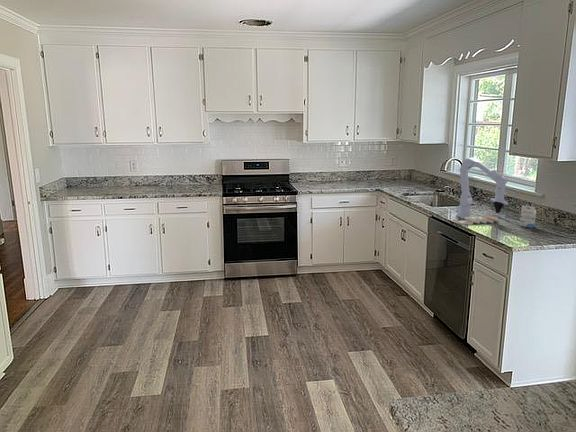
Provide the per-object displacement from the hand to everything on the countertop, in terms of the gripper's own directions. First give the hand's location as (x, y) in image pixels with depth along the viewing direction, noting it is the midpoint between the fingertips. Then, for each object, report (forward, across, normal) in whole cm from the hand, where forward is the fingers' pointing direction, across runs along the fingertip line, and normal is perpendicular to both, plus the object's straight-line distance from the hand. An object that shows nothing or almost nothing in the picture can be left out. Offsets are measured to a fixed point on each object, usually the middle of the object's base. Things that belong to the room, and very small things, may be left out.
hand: (497, 212), depth 299 cm
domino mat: (+7, -3, -6) cm, 10 cm away
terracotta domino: (+6, 0, +1) cm, 6 cm away
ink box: (+8, +14, +13) cm, 20 cm away
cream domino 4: (+6, 0, -4) cm, 8 cm away
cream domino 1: (+6, -2, -20) cm, 21 cm away
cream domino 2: (+6, -2, -15) cm, 16 cm away
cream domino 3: (+6, -1, -9) cm, 11 cm away
